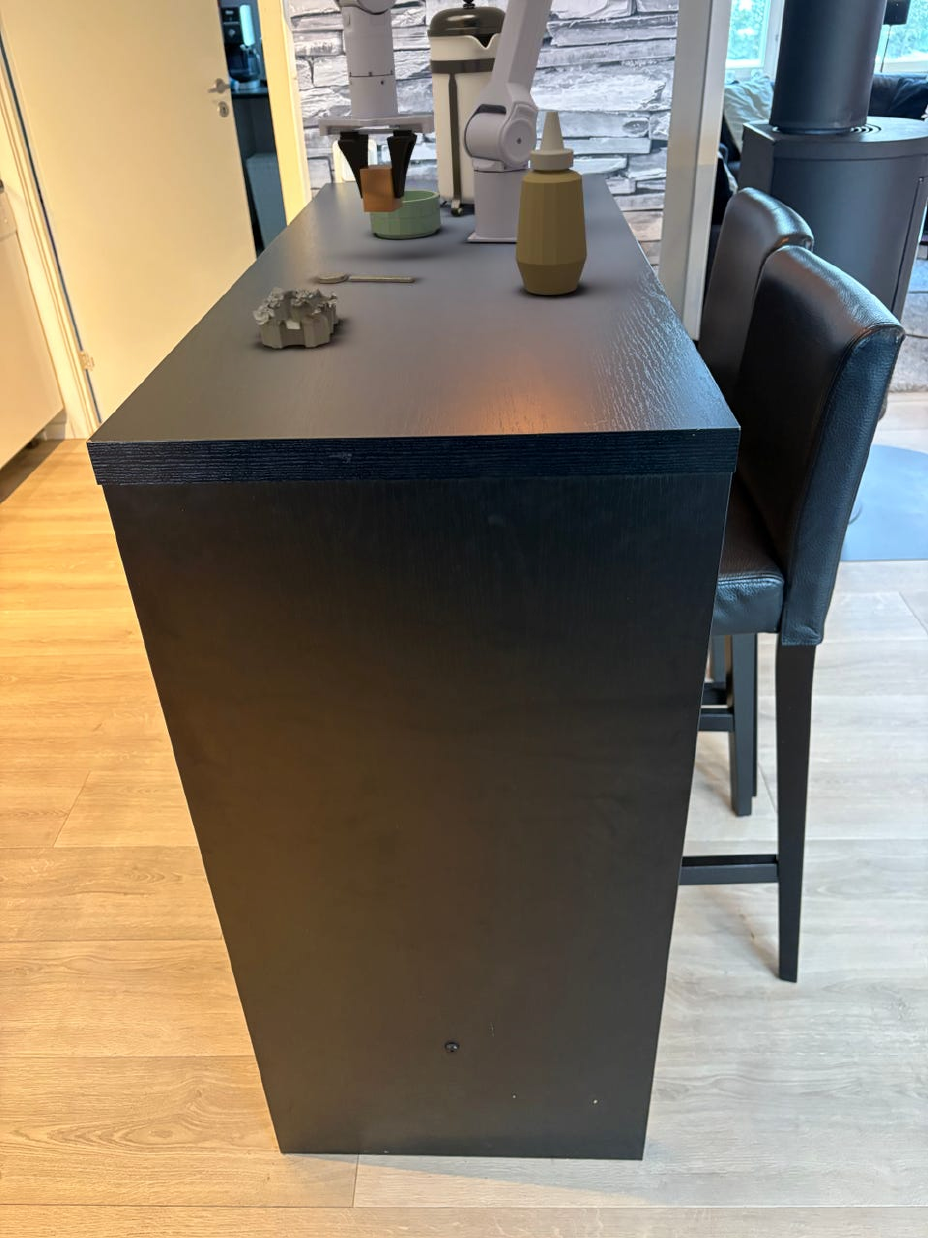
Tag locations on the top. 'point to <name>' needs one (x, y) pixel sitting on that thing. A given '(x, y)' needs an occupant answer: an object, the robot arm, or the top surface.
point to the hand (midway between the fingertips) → (382, 197)
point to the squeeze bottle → (551, 217)
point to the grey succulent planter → (296, 317)
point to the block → (378, 189)
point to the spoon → (359, 278)
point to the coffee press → (460, 89)
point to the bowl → (409, 216)
